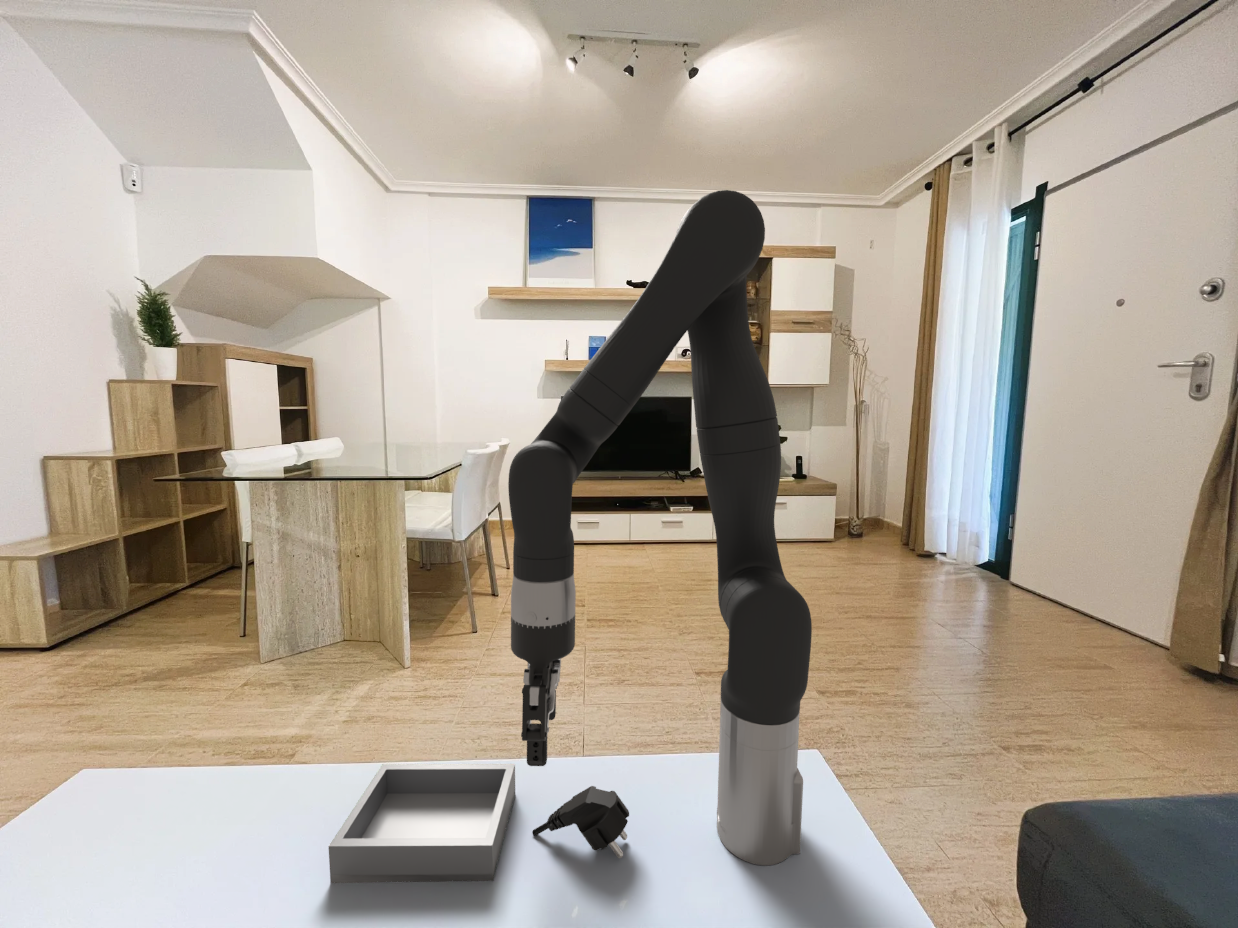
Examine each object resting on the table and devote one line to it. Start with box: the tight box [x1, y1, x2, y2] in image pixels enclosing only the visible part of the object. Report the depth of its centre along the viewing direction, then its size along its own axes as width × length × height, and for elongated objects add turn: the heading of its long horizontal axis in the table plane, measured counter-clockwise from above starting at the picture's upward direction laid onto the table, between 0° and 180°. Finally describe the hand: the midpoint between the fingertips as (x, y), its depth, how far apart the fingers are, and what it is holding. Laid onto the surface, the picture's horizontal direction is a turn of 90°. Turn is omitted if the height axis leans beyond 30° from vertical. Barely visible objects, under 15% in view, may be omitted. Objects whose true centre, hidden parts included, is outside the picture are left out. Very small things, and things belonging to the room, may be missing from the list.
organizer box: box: [328, 763, 516, 884], centre depth 62 cm, size 18×13×4 cm
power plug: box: [532, 785, 630, 859], centre depth 61 cm, size 6×8×12 cm
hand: (542, 739), depth 61 cm, fingers open, 8 cm apart
